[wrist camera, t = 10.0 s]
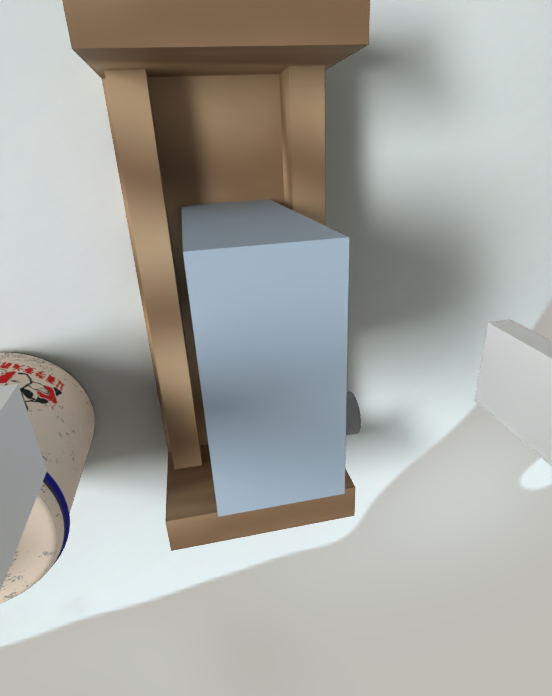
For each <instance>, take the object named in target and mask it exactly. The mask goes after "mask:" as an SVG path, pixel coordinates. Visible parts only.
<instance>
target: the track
mask: <svg viewBox="0 0 552 696" xmlns="http://www.w3.org/2000/svg"><path fill="white" fill-rule="evenodd" d="M62 1H63V6H64V11H65V16H66V21H67V26H68V31H69V36H70V41H71V46H72V49H73V50H74V51H75V52H76V53H77V54H78V55H79V56H80V57H81V58H82V59H83V60H84V61H85V62H86V63H87V64H88V65H89V66H90V67H91V68H92V69H93V70H94V71H95V72H96V73H97V74H98V75H99V76H100V77H101V78H102V82H103V88H104V94H105V99H106V105H107V110H108V116H109V122H110V127H111V133H112V138H113V144H114V149H115V155H116V161H117V166H118V172H119V177H120V183H121V189H122V194H123V200H124V205H125V211H126V217H127V222H128V228H129V233H130V239H131V244H132V250H133V256H134V261H135V267H136V272H137V278H138V284H139V289H140V295H141V300H142V306H143V311H144V317H145V323H146V328H147V334H148V339H149V345H150V351H151V356H152V362H153V367H154V373H155V378H156V384H157V390H158V395H159V401H160V406H161V412H162V418H163V423H164V429H165V434H166V440H167V446H168V472H167V498H166V526H167V531H168V536H169V542H170V547H171V551H173V550H178V549H183V548H188V547H193V546H199V545H204V544H209V543H214V542H219V541H225V540H230V539H235V538H240V537H245V536H251V535H256V534H261V533H266V532H271V531H277V530H282V529H287V528H292V527H297V526H303V525H308V524H313V523H318V522H323V521H329V520H334V519H339V518H344V517H349V516H354V511H355V486H354V484H353V482H352V480H351V478H350V476H349V475H348V473H347V471H346V469H345V494H340V495H335V496H329V497H324V498H318V499H313V500H307V501H302V502H296V503H291V504H285V505H280V506H275V507H269V508H264V509H258V510H253V511H247V512H242V513H236V514H231V515H225V516H220V517H218V511H217V504H216V496H215V489H214V481H213V474H212V466H211V459H210V451H209V444H208V436H207V429H206V421H205V414H204V406H203V399H202V391H201V384H200V376H199V369H198V361H197V354H196V346H195V339H194V331H193V324H192V316H191V309H190V301H189V294H188V286H187V279H186V271H185V264H184V256H183V240H182V208H181V205H194V204H209V203H223V202H237V201H251V200H265V199H270V200H272V201H274V202H276V203H279V204H281V205H283V206H285V207H287V208H289V209H291V210H293V211H295V212H297V213H300V214H302V215H304V216H306V217H308V218H310V219H312V220H314V221H316V222H318V223H320V224H323V225H325V70H326V69H328V68H330V67H331V66H333V65H335V64H336V63H338V62H340V61H341V60H343V59H345V58H346V57H348V56H350V55H351V54H353V53H355V52H357V51H358V50H360V49H362V48H363V47H365V46H367V45H368V44H369V15H370V0H62Z"/></svg>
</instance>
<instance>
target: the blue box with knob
mask: <svg viewBox="0 0 552 696" xmlns="http://www.w3.org/2000/svg"><path fill="white" fill-rule="evenodd" d="M181 208H182V240H183V256H184V264H185V271H186V279H187V286H188V294H189V301H190V309H191V316H192V324H193V331H194V339H195V346H196V354H197V361H198V369H199V376H200V384H201V391H202V399H203V406H204V414H205V421H206V429H207V436H208V444H209V451H210V459H211V466H212V474H213V481H214V489H215V496H216V504H217V511H218V517H220V516H225V515H231V514H236V513H242V512H247V511H253V510H258V509H264V508H269V507H275V506H280V505H285V504H291V503H296V502H302V501H307V500H313V499H318V498H324V497H329V496H335V495H340V494H345V448H346V435H350V434H357V433H358V432H359V430H360V425H361V419H360V411H359V407H358V403H357V400H356V398H355V396H354V394H353V393H352V392H347V338H348V283H349V237H348V236H346V235H344V234H341V233H339V232H337V231H335V230H333V229H331V228H329V227H327V226H325V225H323V224H320V223H318V222H316V221H314V220H312V219H310V218H308V217H306V216H304V215H302V214H300V213H297V212H295V211H293V210H291V209H289V208H287V207H285V206H283V205H281V204H279V203H276V202H274V201H272V200H270V199H265V200H251V201H237V202H223V203H209V204H194V205H181Z"/></svg>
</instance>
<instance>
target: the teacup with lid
mask: <svg viewBox="0 0 552 696" xmlns="http://www.w3.org/2000/svg"><path fill="white" fill-rule="evenodd" d="M13 384H18V385H19V388H20V391H21V394H22V397H23V400H24V403H25V406H26V409H27V412H28V415H29V418H30V421H31V424H32V427H33V430H34V433H35V436H36V439H37V442H38V445H39V448H40V451H41V454H42V457H43V460H44V463H45V466H46V469H47V472H46V474H45V477H44V480H43V482H42V485H41V487H40V490H39V492H38V495H37V498H36V500H35V503H34V505H33V508H32V511H31V513H30V516H29V518H28V521H27V523H26V526H25V529H24V531H23V534H22V536H21V539H20V542H19V544H18V547H17V549H16V552H15V554H14V557H13V560H12V562H11V565H10V567H9V570H8V573H7V575H6V578H5V580H4V583H3V585H2V588H1V591H0V603H2V602H5V601H7V600H9V599H12V598H14V597H15V596H17V595H19V594H21V593H23V592H24V591H26V590H27V589H29V588H30V587H31V586H33V585H34V584H35V583H36V582H38V581H39V580H40V579H41V578H42V577H43V576H44V575H45V574H46V573H47V572H48V571H49V569H50V568H51V567H52V566H53V564H54V563H55V562H56V561H57V559H58V558H59V556H60V555H61V553H62V551H63V549H64V547H65V544H66V542H67V539H68V534H69V527H70V516H69V513H70V510H71V506H72V503H73V500H74V497H75V494H76V490H77V487H78V484H79V481H80V477H81V474H82V471H83V468H84V464H85V461H86V458H87V455H88V452H89V448H90V445H91V442H92V439H93V435H94V429H95V416H94V411H93V407H92V404H91V402H90V399H89V397H88V396H87V394H86V392H85V391H84V389H83V388H82V387H81V385H80V384H79V383H78V382H77V381H76V380H75V379H74V378H73V377H72V376H71V375H70V374H68V373H67V372H66V371H64V370H63V369H61V368H60V367H58V366H56V365H54V364H53V363H50V362H48V361H46V360H43V359H40V358H38V357H34V356H30V355H25V354H19V353H0V386H5V385H13Z"/></svg>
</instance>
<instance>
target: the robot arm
mask: <svg viewBox="0 0 552 696" xmlns="http://www.w3.org/2000/svg"><path fill="white" fill-rule="evenodd" d="M475 402H477V403H478V404H479V405H480V406H481V407H482V408H484V409H485V410H486V411H487V412H489V414H491V415H492V416H493V417H494V418H495V419H497V420H498V421H499V422H500V423H501V424H503V425H504V426H505V427H506V428H507V429H508V430H509V431H511V432H512V433H513V434H514V435H515V436H517V437H518V438H519V439H520V440H521V441H523V442H524V443H525V444H526V445H527V446H528V447H529V448H531V449H532V450H533V451H534V452H535V453H537V454H538V455H539V456H540V457H541V458H542V459H544V460H545V461H546V462H547V463H548V464H549V465H551V466H552V341H551V340H549V339H547V338H545V337H543V336H541V335H539V334H538V333H536V332H534V331H532V330H530V329H528V328H526V327H524V326H522V325H520V324H518V323H516V322H514V321H513V320H504V321H496V322H488V326H487V332H486V338H485V344H484V349H483V355H482V361H481V367H480V373H479V379H478V384H477V390H476V396H475ZM46 472H47V469H46V466H45V463H44V460H43V457H42V454H41V451H40V448H39V445H38V442H37V439H36V436H35V433H34V430H33V427H32V424H31V421H30V418H29V415H28V412H27V409H26V406H25V403H24V400H23V397H22V394H21V391H20V388H19V385H18V384H13V385H5V386H0V591H1V588H2V585H3V583H4V580H5V578H6V575H7V573H8V570H9V567H10V565H11V562H12V560H13V557H14V554H15V552H16V549H17V547H18V544H19V542H20V539H21V536H22V534H23V531H24V529H25V526H26V523H27V521H28V518H29V516H30V513H31V511H32V508H33V505H34V503H35V500H36V498H37V495H38V492H39V490H40V487H41V485H42V482H43V480H44V477H45V474H46Z"/></svg>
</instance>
